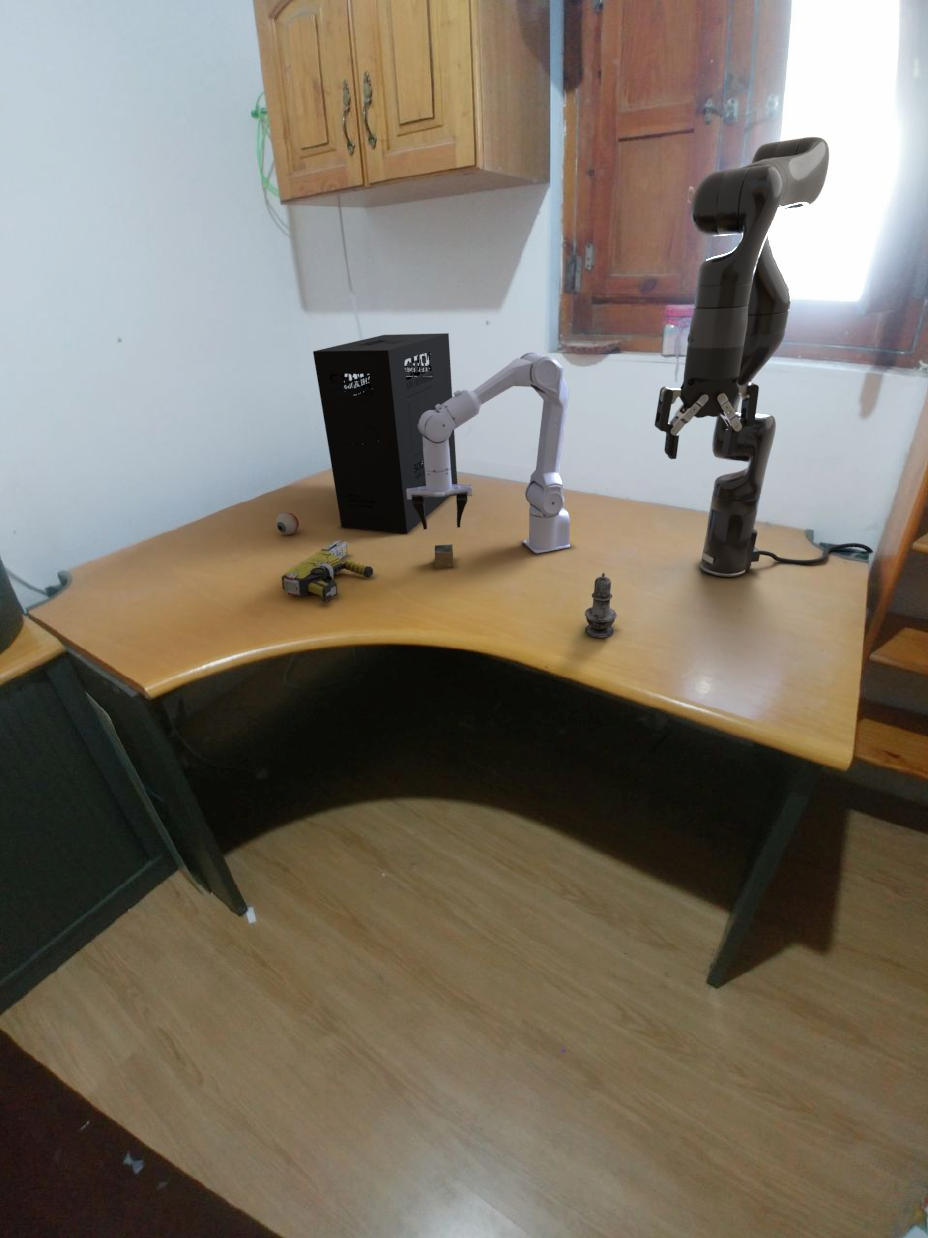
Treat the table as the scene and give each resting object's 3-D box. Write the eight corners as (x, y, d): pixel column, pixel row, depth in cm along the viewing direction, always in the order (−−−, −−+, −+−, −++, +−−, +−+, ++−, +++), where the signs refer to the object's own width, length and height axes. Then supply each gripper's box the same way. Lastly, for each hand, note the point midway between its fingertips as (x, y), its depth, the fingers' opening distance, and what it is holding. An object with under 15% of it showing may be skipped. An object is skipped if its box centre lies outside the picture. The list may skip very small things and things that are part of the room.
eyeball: (273, 537, 164) (268, 516, 161) (287, 528, 169) (282, 508, 166) (291, 539, 161) (286, 518, 158) (305, 530, 166) (301, 510, 163)
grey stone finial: (615, 639, 110) (620, 580, 104) (583, 637, 112) (586, 579, 106) (615, 623, 115) (620, 566, 109) (584, 621, 117) (587, 565, 111)
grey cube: (436, 560, 145) (434, 545, 143) (453, 559, 145) (452, 544, 143) (435, 568, 141) (434, 552, 139) (453, 567, 141) (452, 551, 139)
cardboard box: (400, 485, 198) (384, 334, 175) (457, 489, 191) (448, 333, 169) (341, 526, 168) (312, 351, 145) (407, 533, 161) (388, 350, 139)
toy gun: (389, 548, 145) (334, 537, 149) (339, 588, 125) (277, 575, 129) (389, 566, 147) (335, 555, 151) (340, 608, 127) (279, 595, 131)
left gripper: (403, 475, 128) (409, 535, 135) (471, 471, 128) (474, 531, 135) (405, 466, 135) (411, 523, 141) (470, 462, 134) (472, 520, 141)
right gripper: (674, 348, 82) (660, 465, 90) (778, 342, 82) (755, 460, 90) (657, 342, 89) (646, 452, 97) (754, 336, 89) (735, 447, 97)
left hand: (442, 526), depth 139 cm, fingers open, 7 cm apart
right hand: (699, 456), depth 94 cm, fingers open, 8 cm apart
